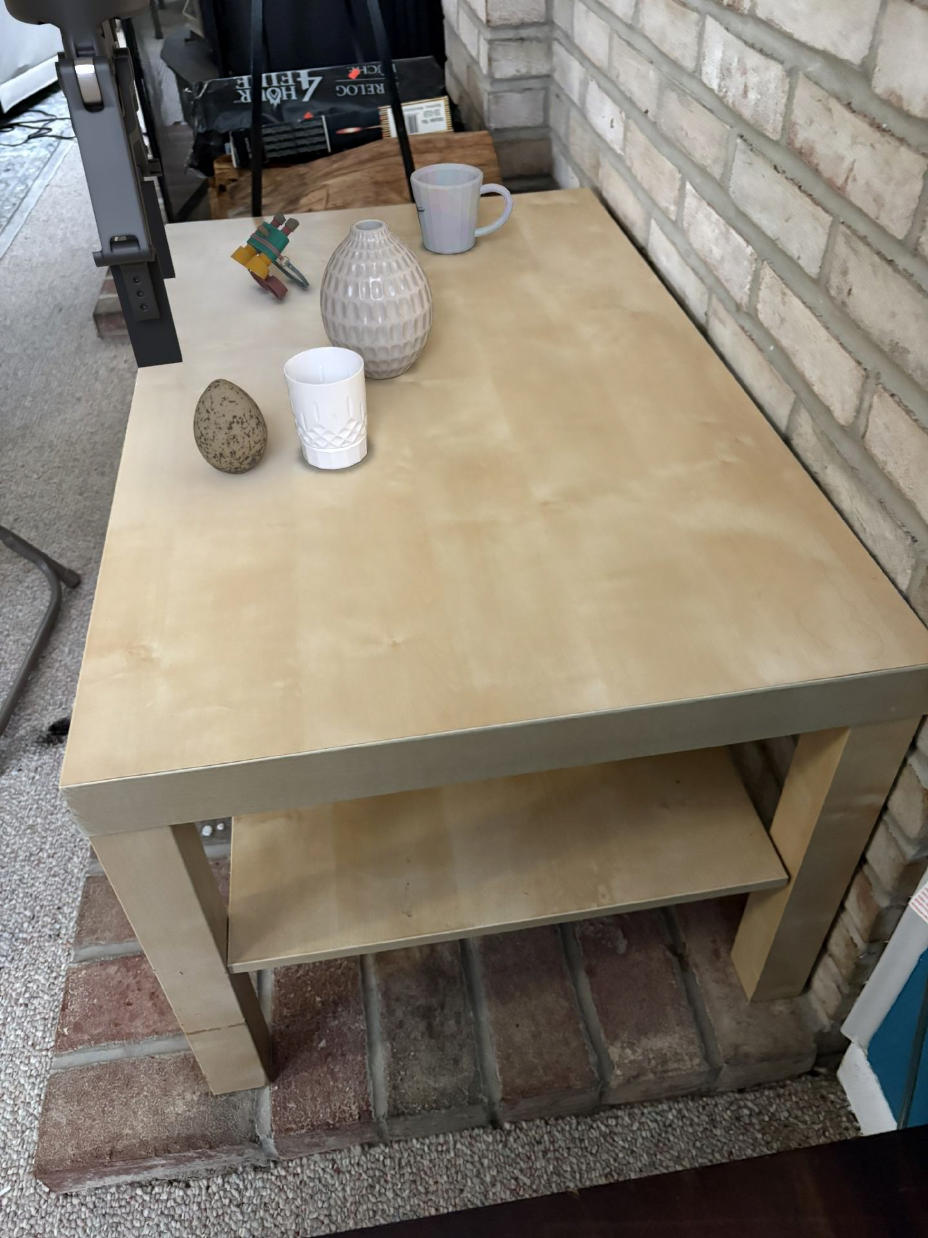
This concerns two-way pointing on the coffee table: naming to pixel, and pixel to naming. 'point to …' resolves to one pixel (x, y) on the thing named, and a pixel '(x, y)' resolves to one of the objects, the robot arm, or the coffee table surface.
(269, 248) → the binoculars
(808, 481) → the coffee table surface
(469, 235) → the mug
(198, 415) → the decorative egg
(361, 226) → the vase
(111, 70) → the robot arm
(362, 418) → the white cup
